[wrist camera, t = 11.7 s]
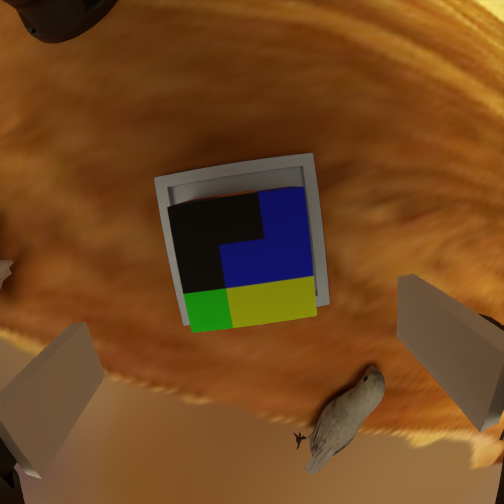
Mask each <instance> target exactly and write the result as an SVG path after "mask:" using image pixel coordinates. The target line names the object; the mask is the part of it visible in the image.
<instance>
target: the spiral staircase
mask: <svg viewBox="0 0 504 504" xmlns="http://www.w3.org/2000/svg"><path fill="white" fill-rule="evenodd" d="M12 264H13V261H12V260H0V289H1V286H2V283H3V281H4V280H5V279H6V278H7V277H8V276H9V275H10V274H12V272H11V271H10V269H9V267H10V266H11V265H12Z"/></svg>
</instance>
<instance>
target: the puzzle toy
mask: <svg viewBox="0 0 504 504" xmlns="http://www.w3.org/2000/svg"><path fill="white" fill-rule="evenodd" d="M167 211H168V217H169V222H170V228H171V234H172V239H173V245H174V250H175V256H176V261H177V266H178V271H179V276H180V281H181V286H182V290H183V295H184V300H185V304H186V309H187V313H188V318H189V322H190V326H191V331H192V333H193V332H202V331H212V330H220V329H229V328H237V327H245V326H252V325H259V324H267V323H274V322H280V321H287V320H293V319H300V318H306V317H312V316H317V309H316V297H315V284H314V273H313V262H312V252H311V242H310V233H309V224H308V215H307V206H306V198H305V190H304V187H296V186H282V187H274V188H266V189H259V190H252V191H245V192H238V193H231V194H224V195H218V196H211V197H205V198H199V199H193V200H188V201H185V202H182V203H178V204H175V205H172V206H169V207H167Z"/></svg>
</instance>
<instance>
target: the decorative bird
mask: <svg viewBox="0 0 504 504" xmlns="http://www.w3.org/2000/svg"><path fill="white" fill-rule="evenodd" d="M384 393H385V381H384V377H383V375H382V374H381V372H379V371H378V369H377V368H376V367H375V366H373V365H370V366H369V367H368V368H367V370H366V372H365V374H364V376H363V377H362V378H361V379H360V381H359V382H358V384H357V385H356V386H355V388H352V389H350V390H349V391H347V392H346V393H344V394H343V395H341V396H340V397H338V398H336V399H334V400H333V401H331V402H330V403H329V404H328V405H327V406H326V407H325V408H324V410H323V412H322V413H321V415H320V417H319V419H318V420H317V423H316V425H315V428H314V431H313V432H312V433H311V434H310V435H309V436H308V437H304V436H303V437H301V434H300V433H299V437H298V436H297V435H296V434H295V433H294V434H295V436H296V442H297V443H298V447H299V445H300V442H301V440H303V439H306V440H309V443H310V449H311V453H312V458H311V459H310V461H309V463H308V464H307V465H306V467H305V470H307V471H309V474H314V473H317V472H319V470H320V469H321V468H323V467H324V466H325V465H326V464H327V463H328V461H329V460H330V459H331V458H332V456H334V455H335V454H337V453H338V452H340V451H341V450H343V449H344V448H345V447H346V446H347V445H348V444H349V443H350V442H351V441H352V440H353V438H354V437H355V435H356V433H357V432H358V431H359V429H360V427H361V425H362V423H363V421H364V420H365V419H366V417H367V416H368V415H369V414H370V413H371V412H372V411H373V410H374V409H375V408H376V407H377V405H378V404H379V403H380V401H381V400H382V398H383V396H384ZM300 437H301V438H300ZM298 447H297V449H298Z"/></svg>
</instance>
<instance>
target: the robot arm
mask: <svg viewBox="0 0 504 504" xmlns="http://www.w3.org/2000/svg"><path fill="white" fill-rule="evenodd" d="M3 1H4V2H6V3H7V4H9V5H11V6H12V7H14V8H15V9H16V10H17V12H18V14H19V16H20V18H21V20H22V22H23V24H24V26H25V28H26V29H27V31H28V32H29V33H30V34H31V35H32V36H34V37H35V38H37V39H38V40H40V41H42V42H45V43H58V42H63V41H66V40H69V39H71V38H73V37H76V36H78V35H79V34H81V33H83V32H84V31H86V30H87V29H89V28H90V27H92V26H93V25H94V24H96V23H97V22H98V21H99V20H100V19H101V18H102V17H103V16H104V15H105V14H106V13H107V12H108V11H109V10H110V9H111V8H112V6H113V5H114V4H115V2H116V1H117V0H3ZM397 337H398V339H399V340H400V341H401V342H402V343H403V344H404V345H405V346H406V347H407V348H408V350H409V351H410V352H411V353H412V354H413V355H414V356H415V357H416V358H417V360H418V361H419V362H420V363H421V364H422V365H423V366H424V367H425V369H426V370H427V371H428V372H429V373H430V374H431V375H432V376H433V378H434V379H435V380H436V381H437V382H438V383H439V384H440V386H441V387H442V388H443V389H444V390H445V391H446V393H447V394H448V395H449V396H450V397H451V398H452V400H453V401H454V402H455V403H456V404H457V405H458V407H459V408H460V409H461V410H462V411H463V413H464V414H465V415H466V416H467V417H468V419H469V420H470V421H471V422H472V423H473V425H474V426H475V427H476V428H477V429H478V431H479V432H482V431H484V430H486V429H488V428H490V427H491V426H493V425H495V424H497V423H498V422H499V420H500V417H501V415H502V412H503V409H504V325H501V323H499V322H497V321H496V320H494V319H493V318H491V317H488V316H485V315H482V314H477V313H476V312H474V311H473V310H471V309H469V308H468V307H466V306H465V305H463V304H462V303H460V302H458V301H457V300H455V299H454V298H452V297H450V296H449V295H447V294H446V293H444V292H442V291H441V290H439V289H438V288H436V287H434V286H433V285H431V284H429V283H428V282H426V281H424V280H423V279H421V278H419V277H418V276H416V275H414V274H411V275H406V276H401V277H398V316H397ZM104 377H105V374H104V371H103V369H102V366H101V363H100V361H99V358H98V356H97V353H96V350H95V348H94V345H93V342H92V339H91V337H90V334H89V331H88V328H87V325H86V322H82V323H72V324H71V325H70V326H68V327H67V328H66V329H65V330H64V331H63V332H62V333H61V334H60V335H59V336H58V337H56V338H55V339H54V340H53V341H52V342H51V343H50V344H49V345H48V346H47V347H46V348H45V349H44V350H43V351H41V352H40V353H39V354H38V355H37V356H36V357H35V358H34V359H33V360H32V361H31V362H30V363H29V364H28V365H27V366H26V367H25V368H24V369H23V370H22V371H21V372H20V373H19V374H18V375H17V376H16V377H15V378H14V379H13V380H12V381H11V382H10V383H9V384H8V385H7V386H6V387H5V388H4V389H3V390H2V391H1V392H0V504H25V503H24V498H23V494H22V490H21V485H20V479H19V475H18V473H17V471H16V470H15V469H14V468H13V467H14V466H15V464H16V463H18V464H19V465H20V466H21V468H22V469H23V470H24V472H25V473H26V474H28V475H31V476H34V477H37V478H41V479H42V478H43V477H44V475H45V473H46V471H47V470H48V468H49V466H50V465H51V463H52V461H53V459H54V457H55V456H56V454H57V452H58V451H59V449H60V447H61V446H62V444H63V443H64V441H65V439H66V438H67V436H68V434H69V432H70V431H71V429H72V428H73V426H74V425H75V423H76V421H77V420H78V418H79V416H80V415H81V413H82V412H83V410H84V408H85V407H86V405H87V404H88V402H89V401H90V399H91V397H92V396H93V394H94V393H95V391H96V390H97V388H98V387H99V385H100V384H101V382H102V380H103V379H104ZM503 438H504V430H503V432H502V434H501V437H500V440H503ZM495 504H504V458H503V465H502V471H501V477H500V483H499V488H498V493H497V497H496V502H495Z"/></svg>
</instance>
